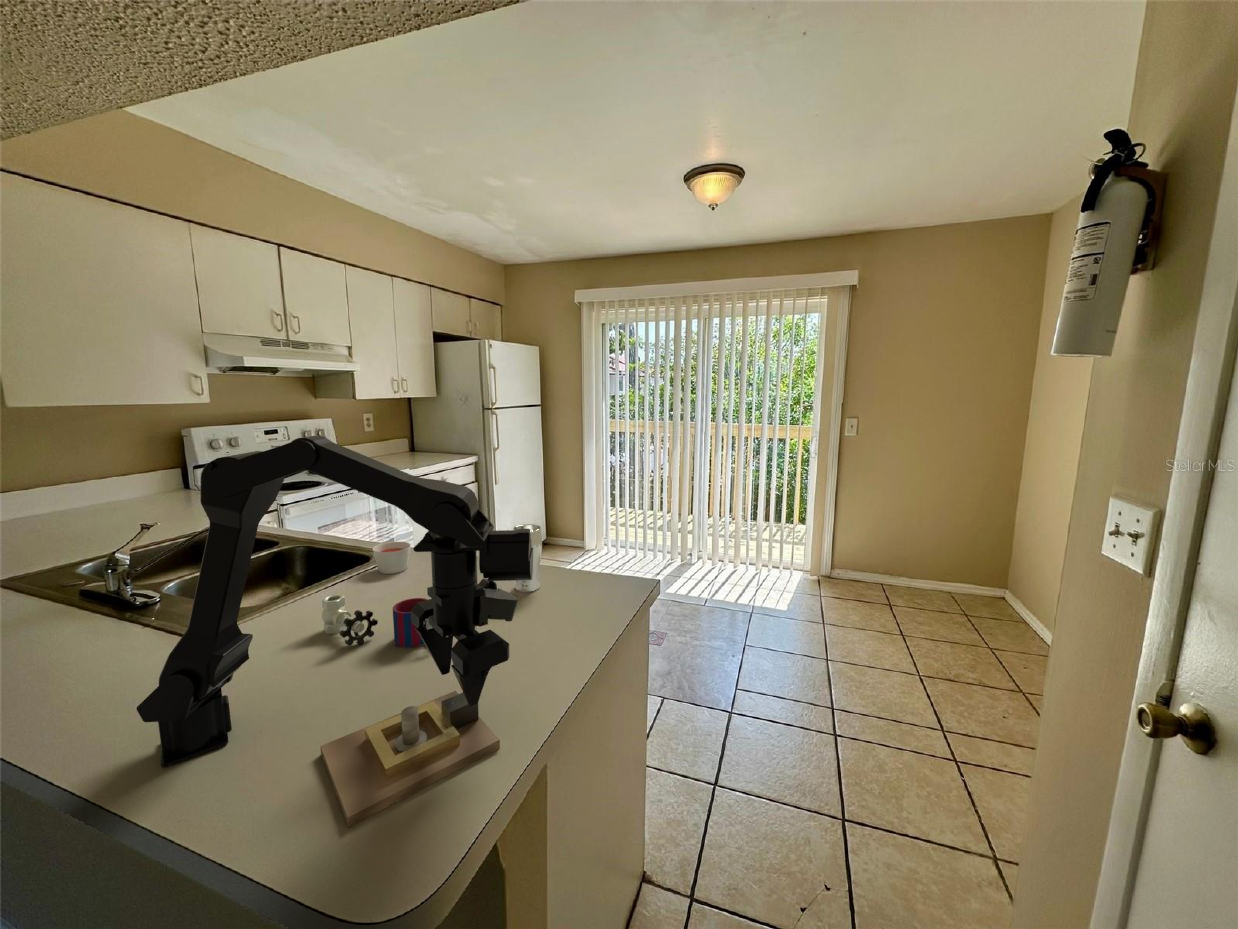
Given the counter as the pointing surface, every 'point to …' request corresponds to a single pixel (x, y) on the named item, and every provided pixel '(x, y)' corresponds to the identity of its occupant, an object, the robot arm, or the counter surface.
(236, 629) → the robot arm
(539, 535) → the beer glass
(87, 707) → the counter surface
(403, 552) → the candle
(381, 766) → the brass link
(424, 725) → the plate
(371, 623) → the valve
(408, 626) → the mug
